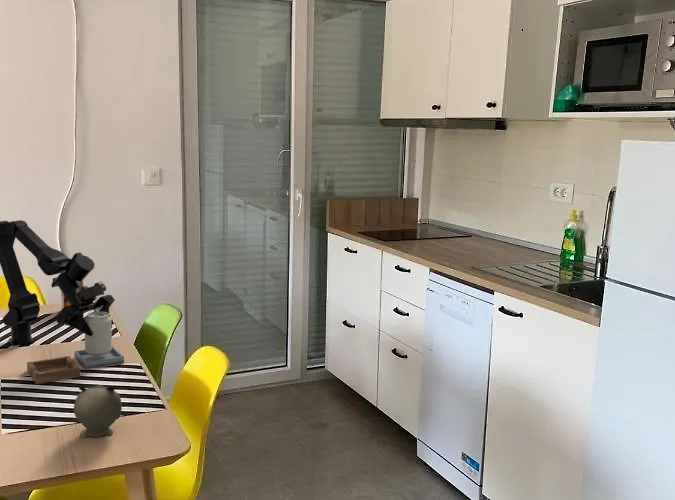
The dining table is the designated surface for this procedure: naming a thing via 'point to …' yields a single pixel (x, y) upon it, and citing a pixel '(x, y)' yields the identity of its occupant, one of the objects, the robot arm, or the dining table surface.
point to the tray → (98, 359)
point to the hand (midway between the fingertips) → (101, 331)
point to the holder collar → (51, 376)
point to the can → (98, 334)
